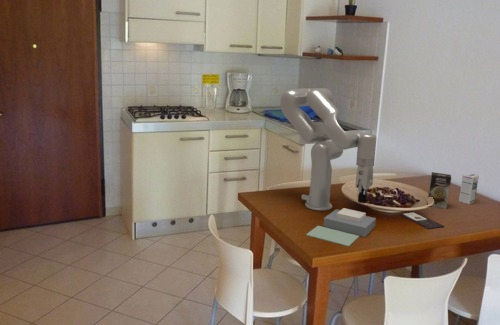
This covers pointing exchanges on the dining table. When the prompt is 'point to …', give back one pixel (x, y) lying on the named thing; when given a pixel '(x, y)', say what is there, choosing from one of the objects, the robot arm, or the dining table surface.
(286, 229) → the dining table surface
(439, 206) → the coffee box
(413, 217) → the chocolate bar
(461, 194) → the syrup box
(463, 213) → the dining table surface
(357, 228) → the block
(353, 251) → the dining table surface
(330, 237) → the mat
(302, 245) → the dining table surface
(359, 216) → the tile
